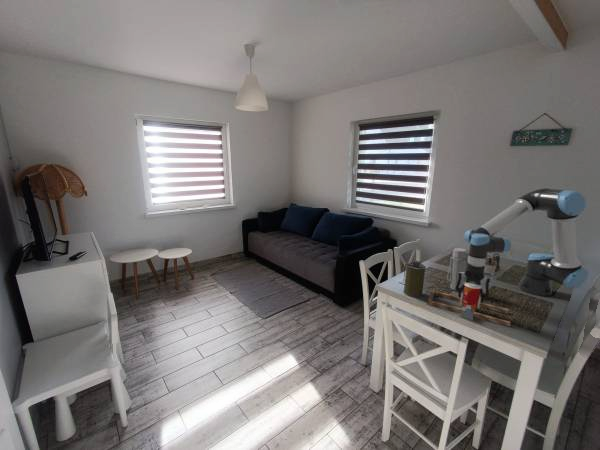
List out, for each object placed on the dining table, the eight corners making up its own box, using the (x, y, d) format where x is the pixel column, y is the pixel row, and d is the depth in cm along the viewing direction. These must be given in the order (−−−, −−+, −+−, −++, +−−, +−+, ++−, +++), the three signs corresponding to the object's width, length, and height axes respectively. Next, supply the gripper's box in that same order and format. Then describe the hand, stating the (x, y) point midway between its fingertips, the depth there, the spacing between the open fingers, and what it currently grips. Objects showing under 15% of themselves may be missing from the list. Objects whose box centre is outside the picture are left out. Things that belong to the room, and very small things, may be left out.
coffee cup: (461, 303, 145) (465, 277, 142) (478, 308, 140) (483, 282, 137) (458, 309, 139) (462, 283, 135) (477, 315, 134) (481, 287, 130)
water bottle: (461, 286, 164) (465, 248, 159) (465, 292, 157) (469, 252, 151) (444, 285, 167) (448, 247, 161) (448, 291, 159) (451, 251, 154)
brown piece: (507, 312, 136) (508, 308, 136) (509, 327, 124) (510, 322, 124) (432, 293, 156) (432, 289, 155) (427, 304, 144) (427, 299, 143)
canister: (423, 291, 158) (427, 260, 153) (421, 299, 149) (425, 266, 144) (404, 287, 163) (407, 256, 158) (401, 294, 154) (404, 262, 150)
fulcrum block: (473, 316, 132) (474, 306, 131) (472, 320, 129) (474, 310, 128) (461, 313, 135) (463, 303, 134) (460, 317, 132) (462, 307, 131)
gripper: (500, 266, 131) (492, 308, 136) (454, 258, 142) (448, 297, 147) (500, 271, 125) (492, 314, 130) (452, 262, 136) (446, 302, 141)
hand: (469, 305), depth 139 cm, fingers closed on coffee cup, 7 cm apart
